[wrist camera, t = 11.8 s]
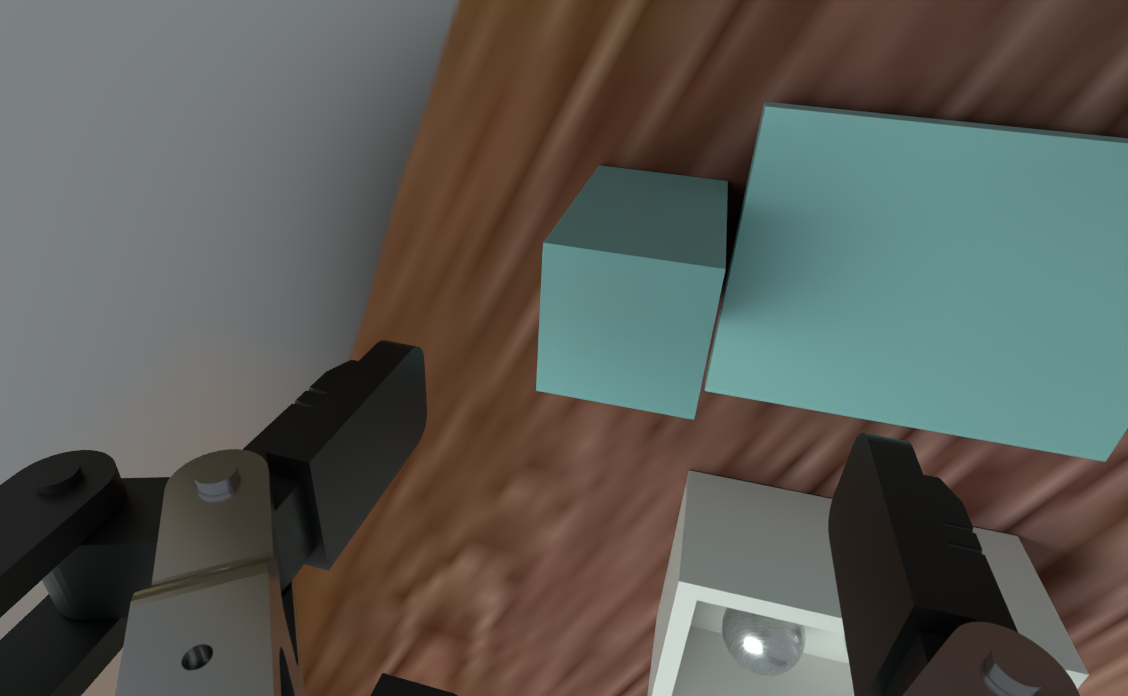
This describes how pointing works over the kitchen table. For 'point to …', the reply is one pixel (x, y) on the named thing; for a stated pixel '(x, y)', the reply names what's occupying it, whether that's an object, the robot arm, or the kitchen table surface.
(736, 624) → the bearing
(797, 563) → the tub
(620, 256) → the lid
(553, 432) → the kitchen table surface
